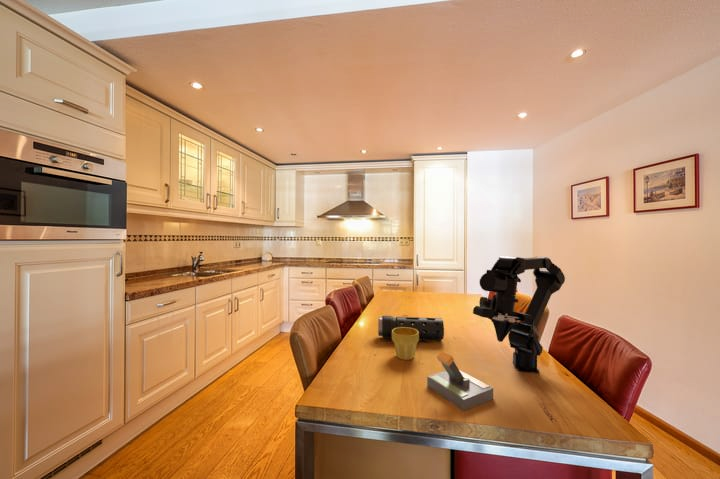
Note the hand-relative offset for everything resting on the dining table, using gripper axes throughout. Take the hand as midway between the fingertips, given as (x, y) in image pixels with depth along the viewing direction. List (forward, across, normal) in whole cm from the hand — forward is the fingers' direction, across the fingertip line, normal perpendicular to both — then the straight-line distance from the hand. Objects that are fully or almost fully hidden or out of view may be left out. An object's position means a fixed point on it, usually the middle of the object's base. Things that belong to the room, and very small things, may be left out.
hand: (499, 341), depth 92 cm
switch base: (+15, +15, +5) cm, 22 cm away
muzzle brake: (+13, +15, -38) cm, 43 cm away
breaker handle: (+12, +16, +5) cm, 20 cm away
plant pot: (+15, +23, -21) cm, 35 cm away
